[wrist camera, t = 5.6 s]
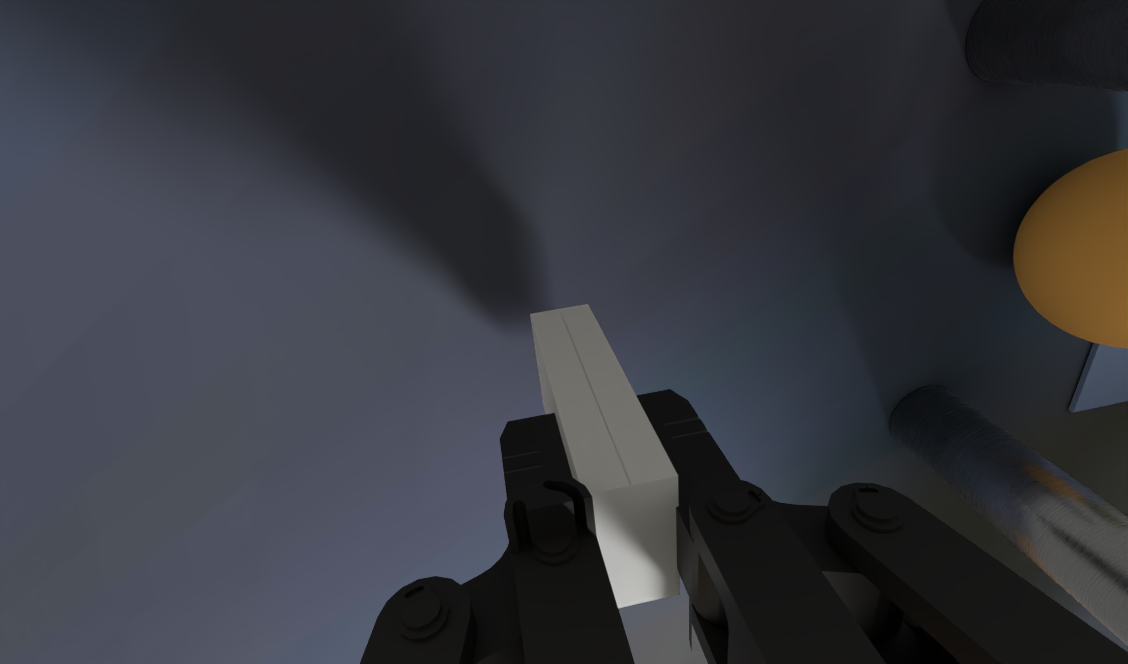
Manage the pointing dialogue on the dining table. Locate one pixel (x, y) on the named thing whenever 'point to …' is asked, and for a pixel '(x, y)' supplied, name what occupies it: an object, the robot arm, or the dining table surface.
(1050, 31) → the outer post
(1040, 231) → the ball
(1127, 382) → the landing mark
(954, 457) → the inner post
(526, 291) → the dining table surface
